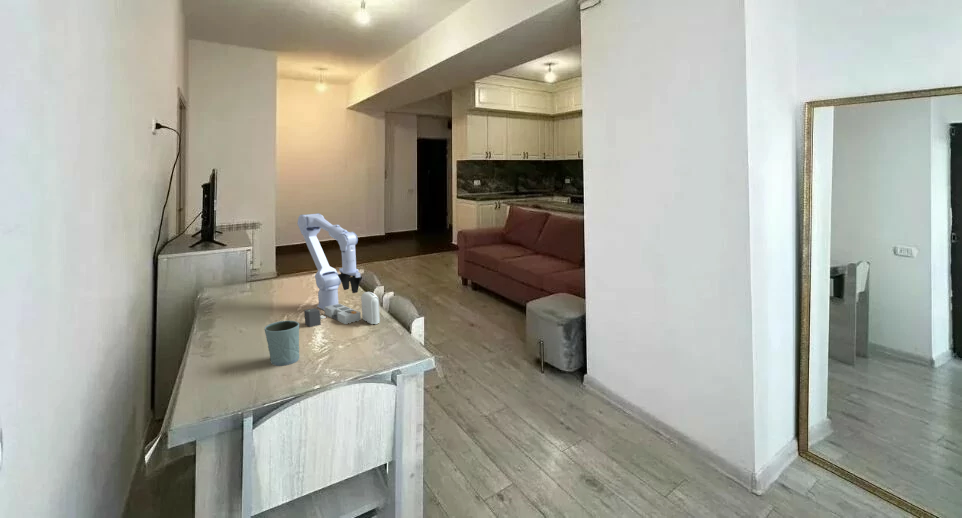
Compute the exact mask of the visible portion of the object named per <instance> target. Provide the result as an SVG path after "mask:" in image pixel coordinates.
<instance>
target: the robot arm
mask: <svg viewBox="0 0 962 518" xmlns="http://www.w3.org/2000/svg"><path fill="white" fill-rule="evenodd" d="M297 218H298V219H297V226H298V229H299V231H300V233H301V235H302V236H303V238H304V241H305V244H306V246H307V249H308V251H309V254H310V255H311V258H312V260H313V262H314V264H315V267H316V269H317V272H316V273H315V274H314V278H315V285H316V287H317V288H318V289H319V290H318V292H317V296H318V297H317V298H318V304H317V305H316V307H317V308H319V309H321V310H323V311H325V308H324V307H326V306H331V305H335V304H339V291H338V289H339V288H340V285H342V287H343V291H346V290H347V291H348V290H349V289H350V288H351V293H352V294H356V293H358V292H359V286H360V285H361V284H360V283H361V282H362V279H363V277H362V276H361V272H359V271H360V270H359V269H358V268H357V257H356V254H357V253H356V245H357V244H358V241H359V239H358V238H359V237H358V235H357V234H356V233H355V231H348V230H347V229H345V228H343V227H341V225H340V224H332V223H331V222H329V220H327V219H325V217H324V215H322V214H321V213H310V214H299V216H298V217H297ZM321 230H323V231H325V232H328V236H329V237H331V238H332V239H334V240H336V241H337V243H338V245H339V250H340V251H341V264H342V265H341V268H338V269H339V271H337V269H336V268H334V267H332V266H330V264H329V261H328V259H327V257H326V254H325V253H324V250H323V248H322V246H321V243H320V241H319V238H318V237H317V235H318V234H320V232H321Z"/></svg>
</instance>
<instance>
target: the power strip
mask: <svg viewBox="0 0 962 518" xmlns="http://www.w3.org/2000/svg"><path fill="white" fill-rule="evenodd" d="M324 308H325V310H324V315H325V316H326V317H329V318H331V319H333V320H336V321H338V322H340V323H341V324H344V325H348V323H349V324H352V323H351V322H353V323H356V322H355V321H357V322H360V321H359V320H361V318H362V315H361V312H360V311H358V310H356V309H353V308H351V307H349V306H346V305H344V304H342V303H338V304H335V305H331V306H326V307H324Z"/></svg>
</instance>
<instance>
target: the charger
mask: <svg viewBox="0 0 962 518" xmlns="http://www.w3.org/2000/svg"><path fill="white" fill-rule="evenodd" d="M303 312H304V313H303V314H304V323H305V325H306V326H307V327H309V328H312V327H315V326H320V325H321V324H322V323H321V320H322V319H326V318H327V315H325V316H324V315H323V314H322V315H321V310H320V309H318V308H316V307H313V308H308V309H304V311H303Z"/></svg>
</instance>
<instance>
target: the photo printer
mask: <svg viewBox="0 0 962 518" xmlns="http://www.w3.org/2000/svg"><path fill="white" fill-rule="evenodd" d="M360 298H361V318H362V320H363V321H365V322H366V321H367V322H366V323H368V324H369V325H373V324H375V325H379V324H380V322H381V313H380V312H381V311H380V298H379V297H378V296H377V294H375V293H373V292H372V291H365V292H363V293H362V294H361V297H360ZM378 323H379V324H378Z"/></svg>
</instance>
